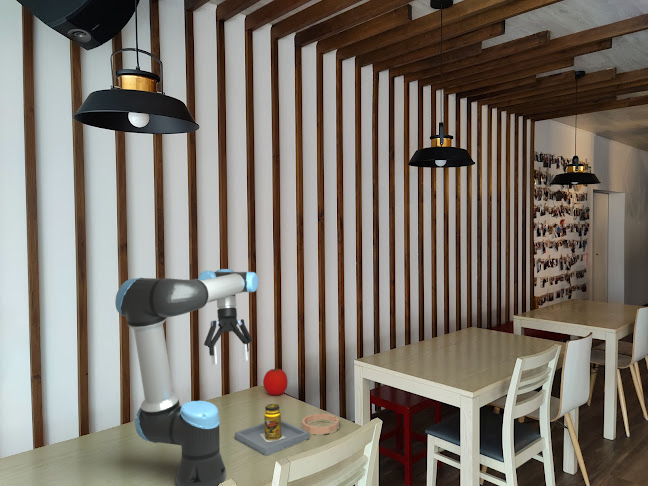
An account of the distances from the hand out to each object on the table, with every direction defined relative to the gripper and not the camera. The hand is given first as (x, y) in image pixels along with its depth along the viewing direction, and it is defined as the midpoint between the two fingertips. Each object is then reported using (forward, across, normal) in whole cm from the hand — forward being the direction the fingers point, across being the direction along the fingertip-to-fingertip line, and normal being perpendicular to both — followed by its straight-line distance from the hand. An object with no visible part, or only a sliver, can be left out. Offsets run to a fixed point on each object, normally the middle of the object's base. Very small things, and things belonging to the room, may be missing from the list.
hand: (230, 362), depth 187 cm
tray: (+30, -10, +10) cm, 33 cm away
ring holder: (+29, -30, +14) cm, 44 cm away
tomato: (+18, -42, -30) cm, 54 cm away
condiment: (+29, -10, +10) cm, 32 cm away
